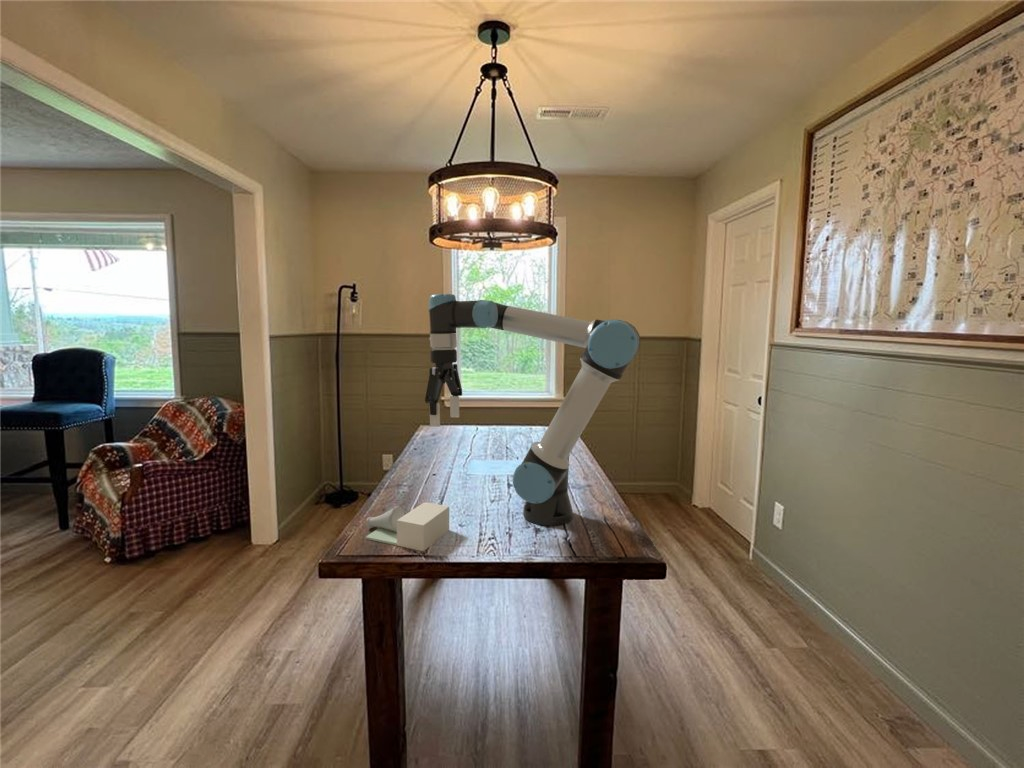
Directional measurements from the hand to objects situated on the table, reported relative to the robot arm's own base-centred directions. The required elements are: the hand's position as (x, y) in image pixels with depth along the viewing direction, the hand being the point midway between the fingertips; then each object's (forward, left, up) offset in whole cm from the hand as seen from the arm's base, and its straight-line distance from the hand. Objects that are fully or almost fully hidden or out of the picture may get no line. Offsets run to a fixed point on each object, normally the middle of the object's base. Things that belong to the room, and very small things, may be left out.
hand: (445, 421), depth 141 cm
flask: (+7, +14, -26) cm, 30 cm away
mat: (+8, +13, -30) cm, 34 cm away
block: (-1, +13, -30) cm, 33 cm away
